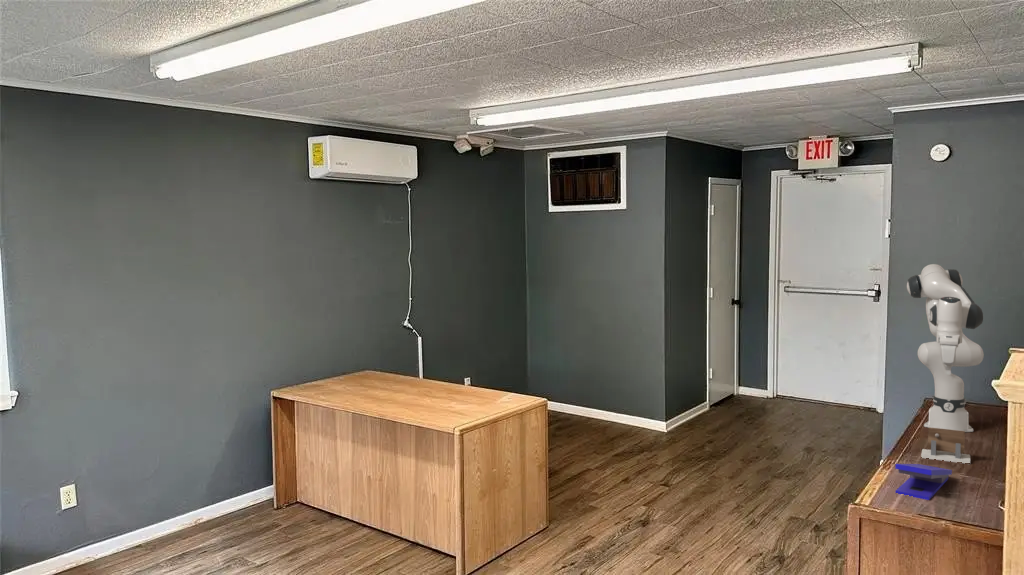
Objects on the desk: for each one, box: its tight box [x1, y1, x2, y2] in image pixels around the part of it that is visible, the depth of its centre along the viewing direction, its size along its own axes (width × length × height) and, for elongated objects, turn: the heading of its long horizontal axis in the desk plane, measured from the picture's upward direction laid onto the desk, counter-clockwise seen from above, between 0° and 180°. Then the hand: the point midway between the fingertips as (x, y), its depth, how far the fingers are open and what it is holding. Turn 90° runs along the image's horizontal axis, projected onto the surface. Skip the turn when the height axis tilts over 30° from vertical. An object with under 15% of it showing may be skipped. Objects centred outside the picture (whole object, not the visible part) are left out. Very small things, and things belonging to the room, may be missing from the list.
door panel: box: [927, 427, 966, 454], centre depth 279 cm, size 4×12×8 cm, turn 58°
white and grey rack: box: [920, 440, 971, 464], centre depth 280 cm, size 8×16×7 cm, turn 58°
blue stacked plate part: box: [895, 463, 953, 501], centre depth 249 cm, size 12×28×10 cm, turn 138°
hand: (948, 372), depth 290 cm, fingers open, 8 cm apart
